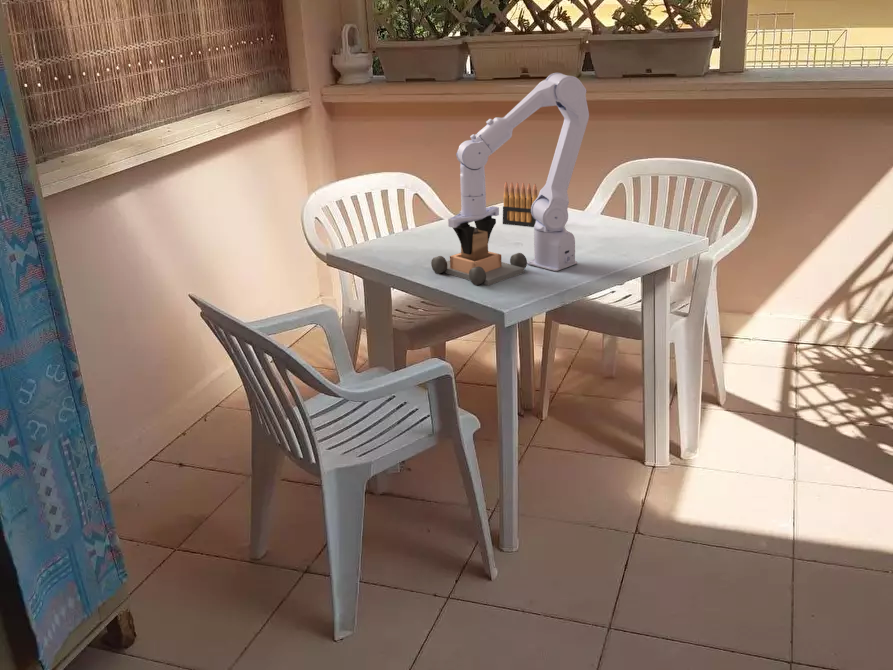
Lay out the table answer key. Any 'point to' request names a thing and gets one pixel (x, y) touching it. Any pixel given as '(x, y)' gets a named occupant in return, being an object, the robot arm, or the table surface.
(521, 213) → the ammunition clip
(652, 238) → the table surface
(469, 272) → the chassis
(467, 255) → the block
